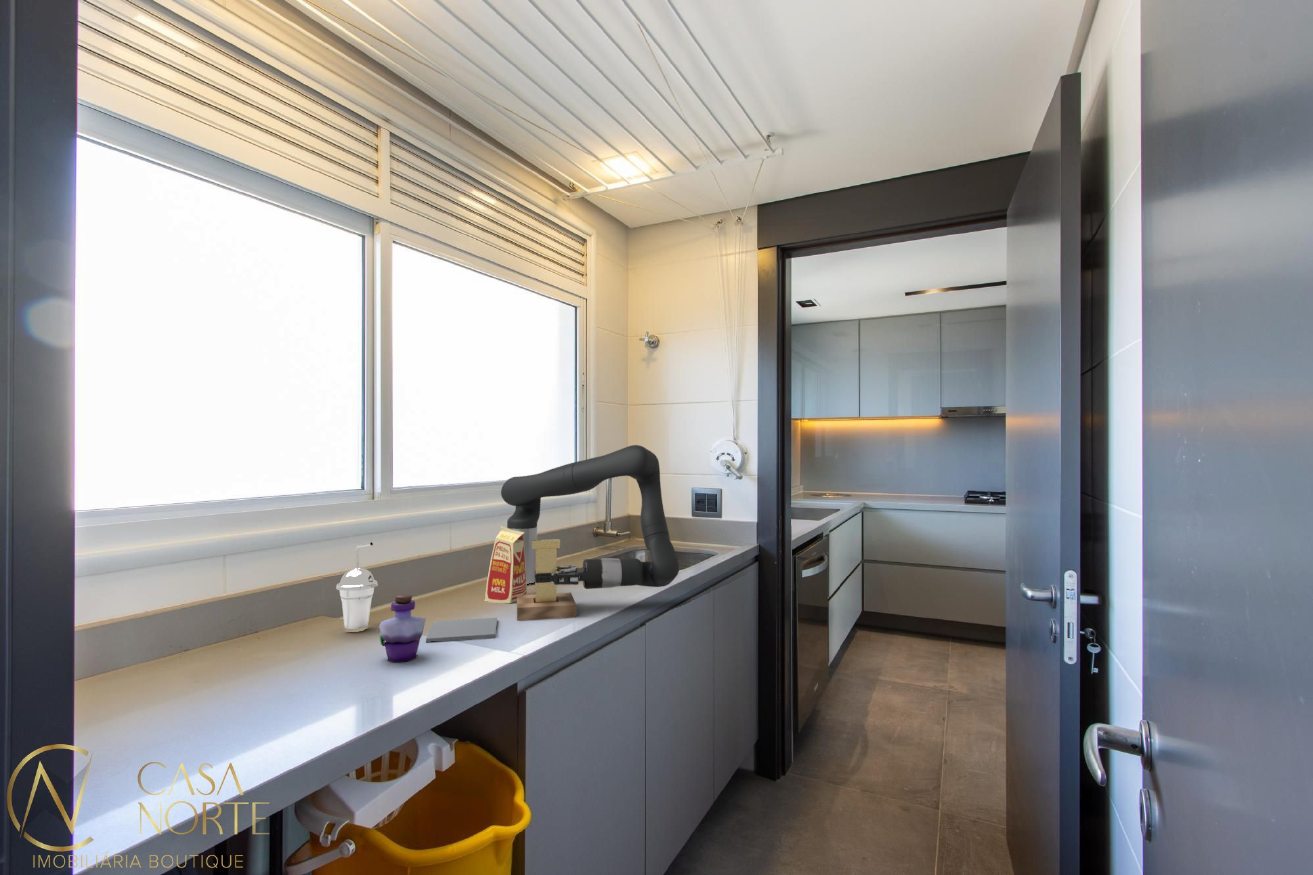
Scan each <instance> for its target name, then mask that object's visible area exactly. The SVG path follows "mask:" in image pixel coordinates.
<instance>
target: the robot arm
mask: <svg viewBox="0 0 1313 875" xmlns="http://www.w3.org/2000/svg"><path fill="white" fill-rule="evenodd" d="M660 468H661V467H660V462H659V459H658V457H657V455H656V454H655V453H654V452H652V451H651V450H649V449H647V448H646V447H645V446H642V445H639V444H632V445H629V446H626V447H623V448H620V449H618V450H615V451H612V452H610V453H607V454H604V455H599V456H596V457H591V458H587V459H584V460H583V459H582V460H578V461H574V462H570V463H566V464H563V465H560V466H557V467H554V468H551V469H548V470H545V471H542V472H539V473H535V474H531V475H529V474H528V475H523V476H513V477H510V478H508V479H507V480H506V481H505V482H504V483H503V484H502V487H501V489H500V496H501V498H502V500H503V501H504V502H505V503H506V504H507V505H510V506H513V507H515V510H514V512H513V514H512V515H511V516H509V517H508V519H507V522H506V528H508V529H511V530H514V531H520V532H525V533H524V534H523V535H522V536H523V541H524V551H525V564H526V580H527V583H533V582H536V583H548V582H551V583H553V584H555V585H556V586H558V585H559V586H560V585H562V586H563V585H566V586H567V585H570V586H571V585H573V586H577V585H579V582H582V586H583V588H584V589H586V590H590V589H591V590H593V589H611V588H616V587H618V588H619V587H631V586H641V587H651V588H658V587H659V588H662V587H667V586H668V585H670V584H671V583H672V582H673V581H674V580H675V579H676V578H677V576H678V575H679V572H680V571H679V570H680V562H679V559H678V556H677V553H676V550H675V547H674V545H673V543H672V541H671V538H670V532H669V528H668V523H667V520H666V515H665V514H666V513H665V509H664V504H663V497H662V487H661V469H660ZM619 477H629V478H632V479H634V480H636V483H637V486H638V488H639V492H640V496H641V507H640V508H641V509H640V528H641V532H642V536H643V542H644V545H645V548H646V550H648V551H649V553H650V557H651V561H641V560H640V559H638V558H635V557H633V558H632V557H631V558H613V557H611V558H610V557H608V558H585V559H583V562H582V567H577V566H576V565H573V564H571V565H560V566H558V565H556V572H553V573H538V574H536V575H535V549H532V540H538V522H539V519H540V515H541V499H542V498H549V497H560V496H562V497H563V496H569V495H575V494H579V493H584V492H587V491H591V490H592V489H594V488H596V487H597V486H598V485H600V484H601V483H602V482H604V481H606V480H609V479H613V478H619Z"/></svg>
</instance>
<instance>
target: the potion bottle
mask: <svg viewBox="0 0 1313 875" xmlns="http://www.w3.org/2000/svg"><path fill="white" fill-rule="evenodd" d="M390 605H391V606H390V607H391V608H390V609H391V610H390V611H392V612H394V614H395V615H394V617H392V618H388V619H385V620H382V621H381V622H380V624H379V625H378V626H379V631H380V634H379V641H380V645H381V646H382V647H385V652H386V653H385V654H386V656H387V657H386V658H387V659H386V661H387V662H388V663H389V662H390V663H393V664H396V663H407V662H411V661H414V660H416V659H417V658H418V651H419V645H420V641H421V638H422V636H423V633H424V630H425V623H426V620H427V617H420V616H417V615H416V616H415V615H412V611H413V610H415V608H416V600H413V596H412V595H411V594H398V595H396V596H394V601H392V603H391V604H390Z"/></svg>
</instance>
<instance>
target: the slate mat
mask: <svg viewBox="0 0 1313 875" xmlns="http://www.w3.org/2000/svg"><path fill="white" fill-rule="evenodd" d="M497 626H498V617H486V618H485V617H484V618H482V617H481V618H469V619H468V618H467V619H453V620H452V619H451V620H435V621H434V622H433V624H432V627H431V628H430V630H429V632H428V634H427V636H426V638H425V643H432V642H431V641H441V642H451V641H452V642H453V641H454V642H455V641H467V640H468V641H469V640H483V639H495V638H496V635H497V634H496V633H497Z"/></svg>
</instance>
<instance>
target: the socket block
mask: <svg viewBox="0 0 1313 875" xmlns="http://www.w3.org/2000/svg"><path fill="white" fill-rule="evenodd" d="M576 617H577V604H576V601H575V599H574V596H573V593H572V592H556V602H546V603H535V593H534V594H533V593H532V594H527V595H517V601H516V621H520V622H521V621H533V620H547V619H548V620H549V619H552V620H553V619H563V618H564V619H567V618H576Z"/></svg>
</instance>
